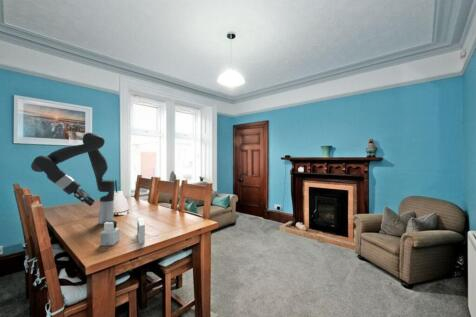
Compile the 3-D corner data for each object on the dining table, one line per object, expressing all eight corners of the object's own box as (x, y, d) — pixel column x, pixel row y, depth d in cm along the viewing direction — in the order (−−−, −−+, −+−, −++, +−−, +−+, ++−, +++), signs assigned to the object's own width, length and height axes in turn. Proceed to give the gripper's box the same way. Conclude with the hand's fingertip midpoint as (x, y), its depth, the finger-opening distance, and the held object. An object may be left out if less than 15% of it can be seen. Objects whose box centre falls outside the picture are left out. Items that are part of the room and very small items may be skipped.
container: (106, 240, 133) (107, 219, 132) (119, 240, 133) (120, 219, 133) (99, 245, 125) (100, 223, 125) (113, 245, 126) (114, 223, 125)
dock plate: (139, 243, 129) (139, 225, 128) (137, 233, 144) (137, 217, 144) (144, 242, 130) (144, 225, 130) (142, 233, 146) (142, 217, 146)
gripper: (71, 181, 115) (97, 201, 121) (76, 178, 128) (99, 196, 133) (58, 191, 112) (85, 211, 118) (65, 187, 125) (88, 205, 131)
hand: (92, 203), depth 126 cm, fingers open, 6 cm apart
